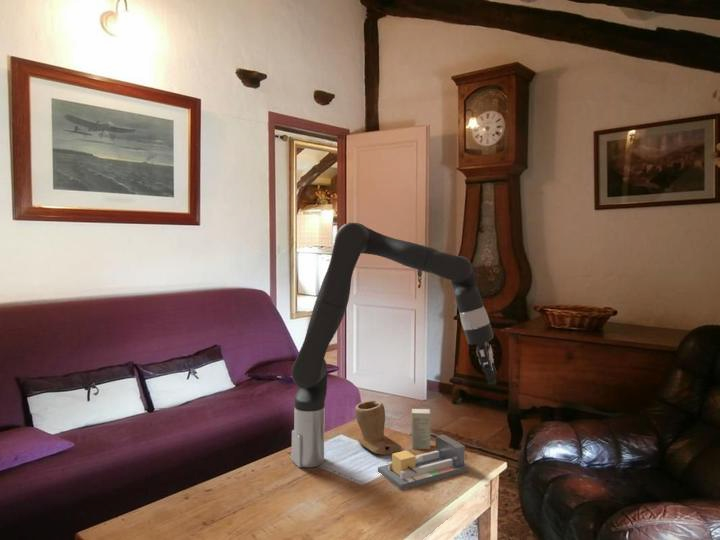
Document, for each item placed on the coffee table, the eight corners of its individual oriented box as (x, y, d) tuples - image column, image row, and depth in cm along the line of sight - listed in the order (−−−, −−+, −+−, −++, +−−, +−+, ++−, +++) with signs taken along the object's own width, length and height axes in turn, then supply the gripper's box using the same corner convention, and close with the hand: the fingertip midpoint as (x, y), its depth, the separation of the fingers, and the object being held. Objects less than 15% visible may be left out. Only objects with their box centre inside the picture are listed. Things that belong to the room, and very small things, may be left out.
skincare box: (430, 444, 175) (431, 408, 174) (430, 450, 170) (431, 413, 169) (410, 443, 175) (411, 407, 174) (410, 448, 171) (411, 412, 170)
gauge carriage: (408, 482, 145) (409, 465, 144) (391, 469, 152) (392, 453, 152) (434, 475, 149) (435, 458, 149) (417, 463, 156) (417, 447, 156)
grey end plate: (456, 467, 155) (457, 448, 154) (435, 454, 163) (436, 436, 163) (464, 465, 156) (464, 446, 156) (443, 452, 165) (443, 434, 164)
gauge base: (400, 490, 144) (400, 477, 144) (377, 472, 154) (378, 460, 154) (467, 471, 156) (468, 460, 155) (442, 455, 166) (442, 445, 166)
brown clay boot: (348, 442, 175) (349, 399, 174) (379, 436, 181) (380, 394, 179) (369, 460, 162) (370, 413, 161) (402, 453, 167) (403, 408, 166)
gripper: (465, 323, 155) (481, 375, 155) (461, 333, 141) (478, 390, 141) (490, 316, 153) (506, 370, 153) (488, 326, 139) (506, 384, 139)
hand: (493, 379), depth 147 cm, fingers open, 8 cm apart
